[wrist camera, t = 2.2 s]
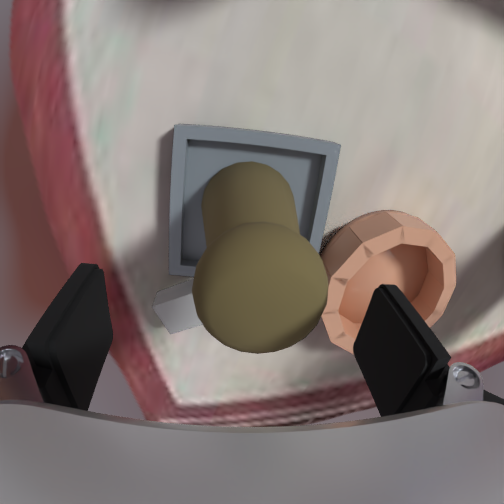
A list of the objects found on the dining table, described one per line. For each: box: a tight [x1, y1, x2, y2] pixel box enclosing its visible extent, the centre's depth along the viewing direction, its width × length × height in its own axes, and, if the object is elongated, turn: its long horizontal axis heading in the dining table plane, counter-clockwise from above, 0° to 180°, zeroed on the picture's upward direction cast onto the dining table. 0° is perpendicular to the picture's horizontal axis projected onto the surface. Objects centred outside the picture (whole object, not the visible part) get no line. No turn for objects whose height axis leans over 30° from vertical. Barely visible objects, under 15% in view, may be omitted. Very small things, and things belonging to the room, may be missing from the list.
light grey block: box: [152, 279, 203, 334], centre depth 23 cm, size 4×3×2 cm
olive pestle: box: [192, 161, 328, 354], centre depth 15 cm, size 6×6×11 cm
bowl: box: [320, 210, 456, 355], centre depth 22 cm, size 11×11×4 cm
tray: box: [169, 124, 341, 277], centre depth 20 cm, size 10×10×2 cm
